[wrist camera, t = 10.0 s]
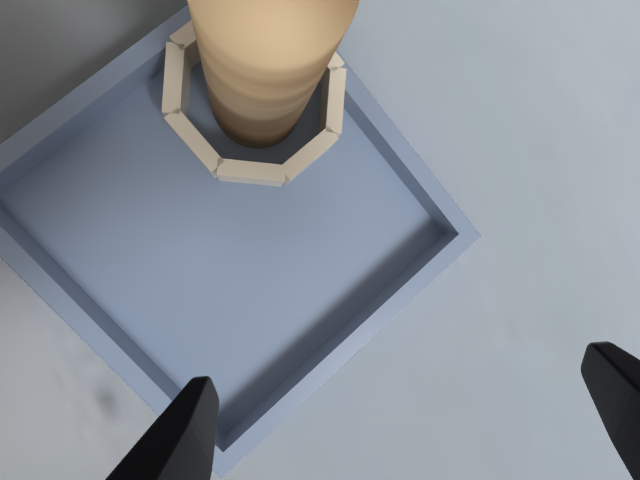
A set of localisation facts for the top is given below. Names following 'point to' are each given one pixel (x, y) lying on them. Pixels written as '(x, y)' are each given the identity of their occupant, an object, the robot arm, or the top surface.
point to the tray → (221, 232)
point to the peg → (265, 60)
